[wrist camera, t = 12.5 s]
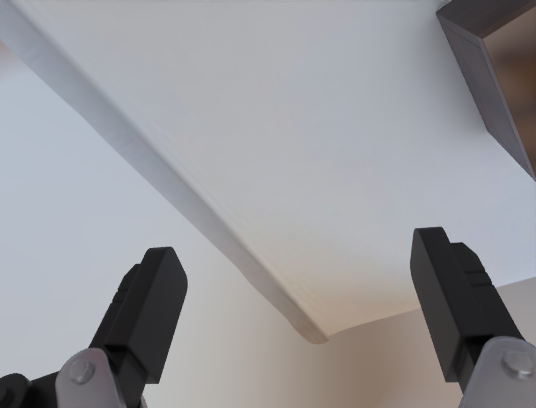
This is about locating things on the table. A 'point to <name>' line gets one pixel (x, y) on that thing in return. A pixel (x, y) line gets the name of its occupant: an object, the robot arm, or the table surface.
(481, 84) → the block
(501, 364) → the robot arm
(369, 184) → the table surface
